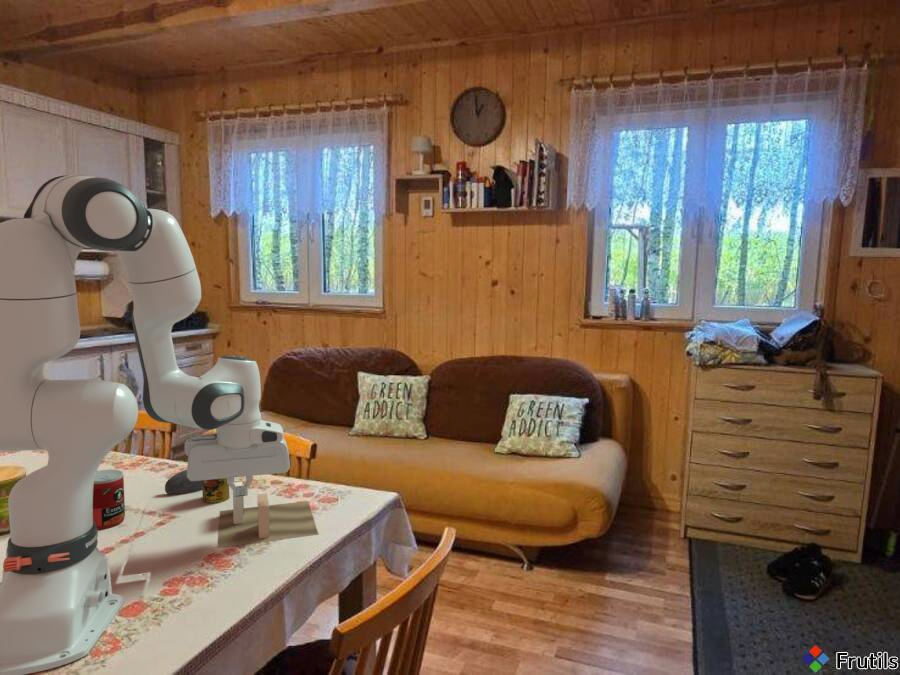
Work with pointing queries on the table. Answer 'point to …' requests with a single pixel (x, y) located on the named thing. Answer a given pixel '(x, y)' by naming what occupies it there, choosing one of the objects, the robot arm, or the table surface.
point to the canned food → (108, 498)
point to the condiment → (215, 490)
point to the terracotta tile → (263, 516)
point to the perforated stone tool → (182, 484)
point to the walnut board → (282, 524)
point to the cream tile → (238, 507)
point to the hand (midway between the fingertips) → (240, 495)
